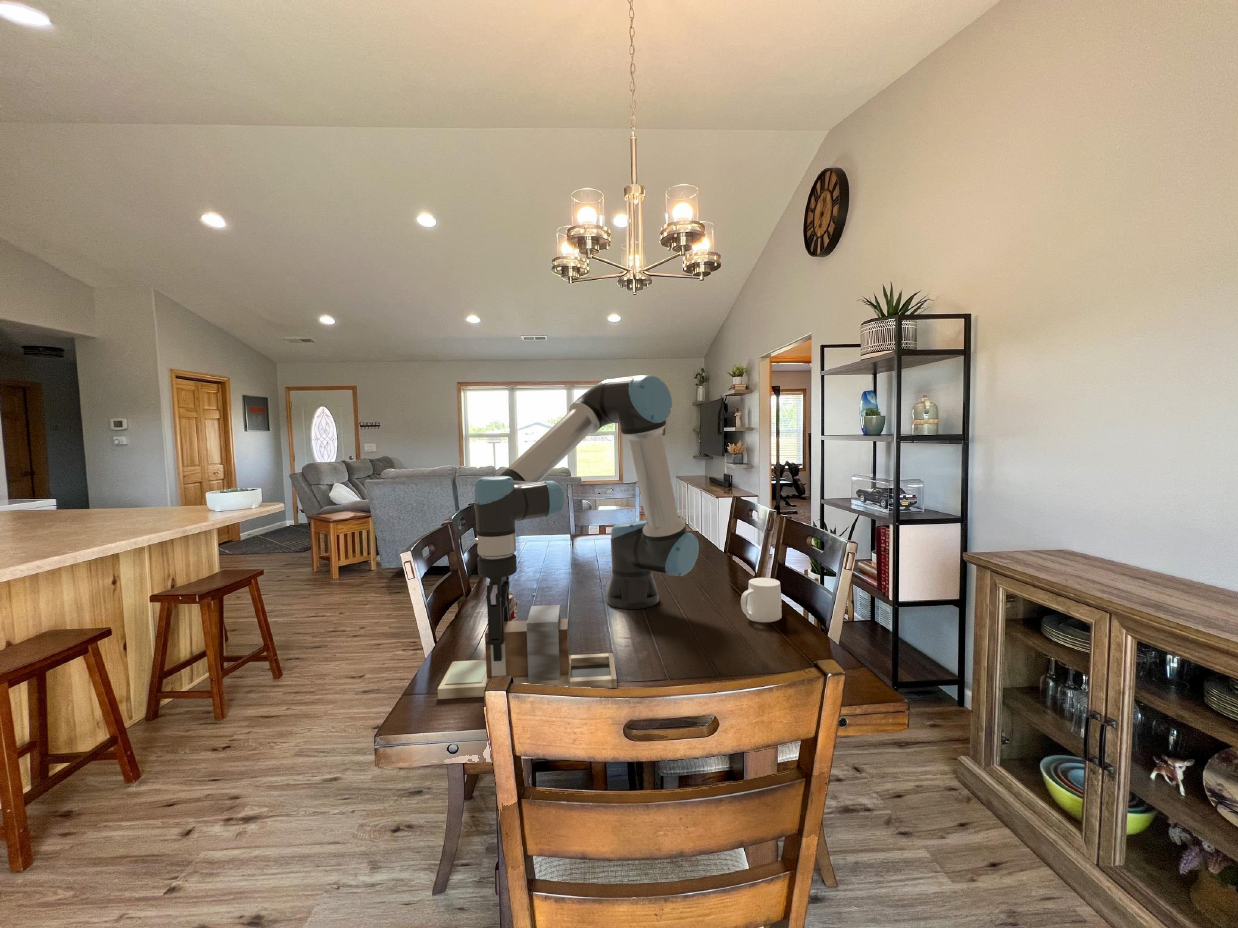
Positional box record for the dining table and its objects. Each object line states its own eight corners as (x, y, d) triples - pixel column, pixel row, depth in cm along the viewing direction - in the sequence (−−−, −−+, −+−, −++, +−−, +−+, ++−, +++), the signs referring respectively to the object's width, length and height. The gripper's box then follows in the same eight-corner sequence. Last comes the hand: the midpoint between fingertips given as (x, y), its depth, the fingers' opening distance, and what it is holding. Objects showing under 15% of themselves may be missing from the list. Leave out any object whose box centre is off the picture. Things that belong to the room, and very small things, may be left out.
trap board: (613, 661, 116) (611, 600, 115) (616, 688, 104) (615, 620, 103) (453, 670, 114) (450, 608, 113) (438, 698, 102) (434, 629, 101)
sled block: (569, 660, 113) (568, 618, 112) (568, 673, 107) (567, 629, 106) (491, 664, 111) (490, 622, 111) (486, 677, 106) (484, 633, 105)
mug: (768, 575, 146) (789, 582, 139) (768, 609, 147) (789, 618, 140) (732, 582, 141) (752, 590, 134) (732, 616, 142) (752, 626, 135)
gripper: (486, 544, 116) (490, 648, 118) (467, 567, 97) (473, 691, 99) (521, 543, 117) (525, 647, 118) (509, 565, 98) (514, 688, 99)
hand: (501, 666), depth 109 cm, fingers closed on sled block, 6 cm apart
